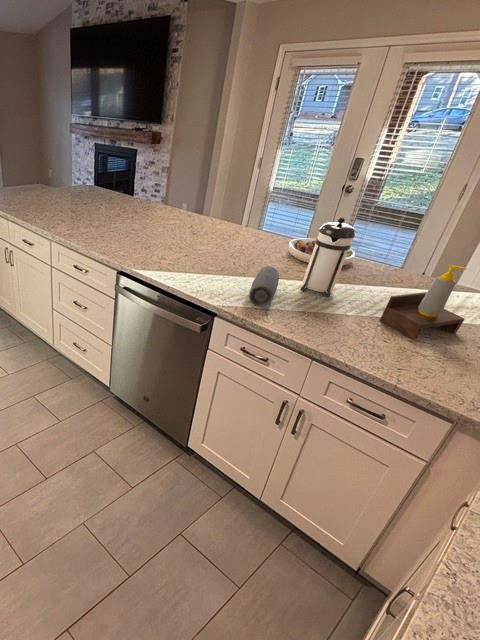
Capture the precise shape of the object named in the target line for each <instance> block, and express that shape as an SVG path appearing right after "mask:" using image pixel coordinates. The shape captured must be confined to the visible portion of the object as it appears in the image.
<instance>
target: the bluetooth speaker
mask: <svg viewBox="0 0 480 640" xmlns="http://www.w3.org/2000/svg"><path fill="white" fill-rule="evenodd" d="M279 281H280V274H279V270H278V269H277V268H276V267H274V266H264V267H262V268H261V269H260V270H258V272H257V273H256V275H255V277H254V279H253V280H252V283H251V286H250V289H249V295H248V296H249V297H248V298H249V301H250V303H251V304H252V305H253V306H256V307H261V308H262V307H263V308H264V307H266V306H268V305H270V304H271V303H272V301H273V300H274V297H275V295H276V293H277V290H278V287H279Z"/></svg>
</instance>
